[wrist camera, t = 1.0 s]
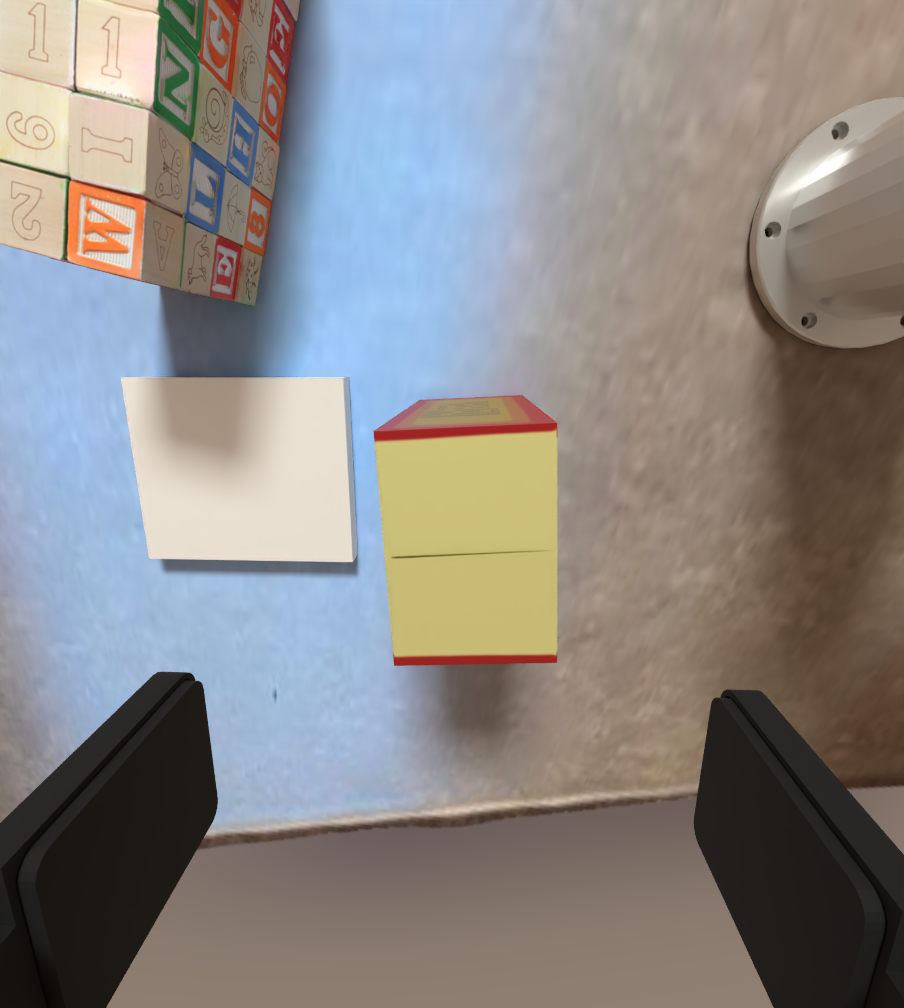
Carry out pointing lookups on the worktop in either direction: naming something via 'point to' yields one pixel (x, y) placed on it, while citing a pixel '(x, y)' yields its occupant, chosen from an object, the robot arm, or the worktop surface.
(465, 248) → the worktop surface
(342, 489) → the cutting board
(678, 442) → the worktop surface
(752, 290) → the worktop surface
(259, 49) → the stack of blocks
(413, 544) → the baking soda box
